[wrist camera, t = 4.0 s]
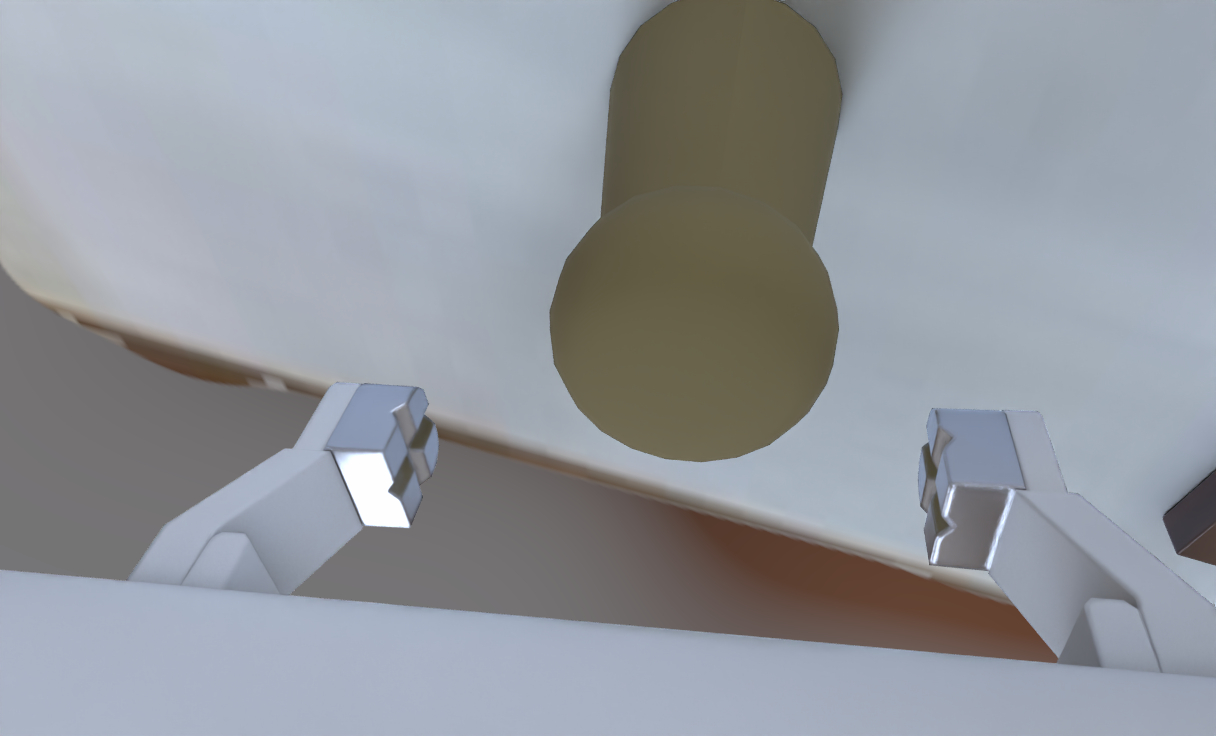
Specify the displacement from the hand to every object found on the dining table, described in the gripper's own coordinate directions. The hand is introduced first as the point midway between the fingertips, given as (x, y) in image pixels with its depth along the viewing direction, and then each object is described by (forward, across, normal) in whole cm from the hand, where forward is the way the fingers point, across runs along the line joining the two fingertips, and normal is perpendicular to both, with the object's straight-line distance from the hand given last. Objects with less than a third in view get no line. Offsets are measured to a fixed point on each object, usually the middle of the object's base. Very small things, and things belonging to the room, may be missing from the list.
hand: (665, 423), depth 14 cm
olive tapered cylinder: (+12, 0, 0) cm, 12 cm away
